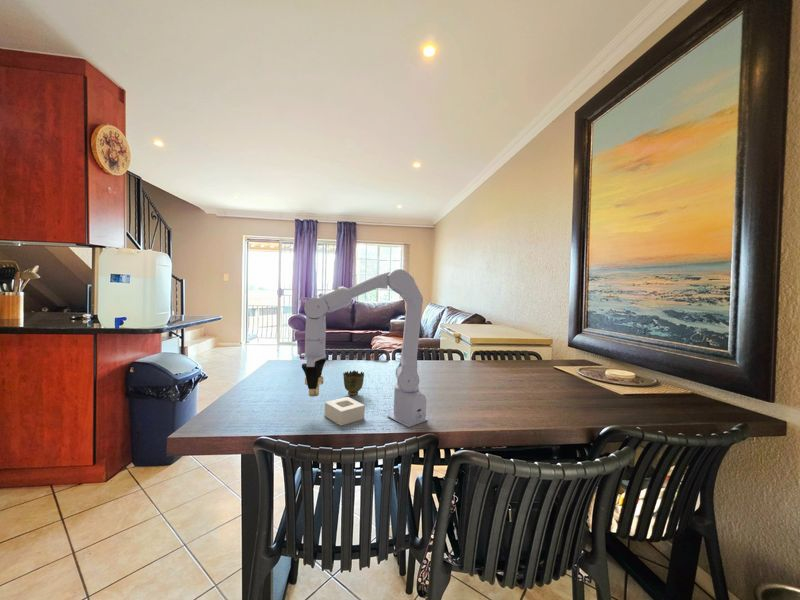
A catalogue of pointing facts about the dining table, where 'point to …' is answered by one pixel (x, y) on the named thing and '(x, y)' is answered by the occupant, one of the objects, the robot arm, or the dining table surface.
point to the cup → (353, 382)
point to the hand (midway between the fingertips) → (314, 385)
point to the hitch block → (344, 410)
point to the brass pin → (316, 391)
